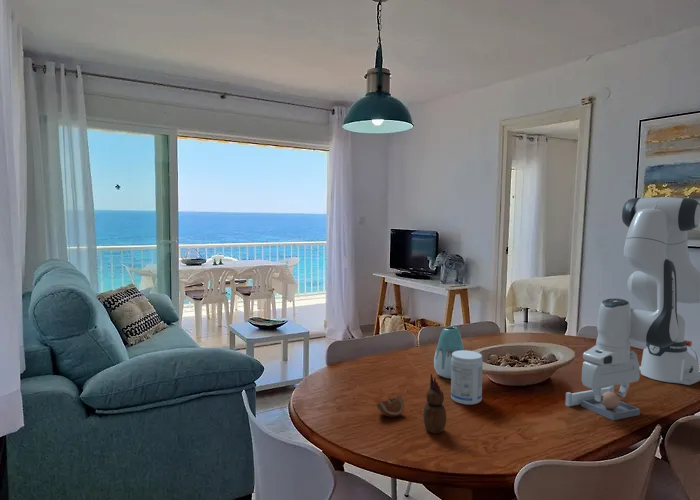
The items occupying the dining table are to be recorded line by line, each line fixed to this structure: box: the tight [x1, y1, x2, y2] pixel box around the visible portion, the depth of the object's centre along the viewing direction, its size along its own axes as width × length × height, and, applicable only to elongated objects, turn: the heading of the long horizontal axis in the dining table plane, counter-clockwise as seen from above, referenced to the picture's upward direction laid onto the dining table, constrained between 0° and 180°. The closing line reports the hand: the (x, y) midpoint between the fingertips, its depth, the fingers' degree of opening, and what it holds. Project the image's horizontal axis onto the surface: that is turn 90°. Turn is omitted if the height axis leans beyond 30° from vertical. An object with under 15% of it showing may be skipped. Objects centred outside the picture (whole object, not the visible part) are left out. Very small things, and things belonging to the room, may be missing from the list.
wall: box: [565, 385, 615, 407], centre depth 145 cm, size 19×1×4 cm, turn 112°
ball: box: [601, 392, 621, 409], centre depth 139 cm, size 5×5×5 cm
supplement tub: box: [450, 349, 483, 406], centre depth 146 cm, size 10×10×15 cm
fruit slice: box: [376, 395, 405, 418], centre depth 134 cm, size 8×7×5 cm
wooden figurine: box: [422, 373, 447, 434], centre depth 124 cm, size 7×6×15 cm
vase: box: [433, 326, 465, 380], centre depth 168 cm, size 12×12×18 cm
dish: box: [580, 398, 641, 421], centre depth 139 cm, size 11×11×2 cm
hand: (610, 398), depth 139 cm, fingers open, 8 cm apart
